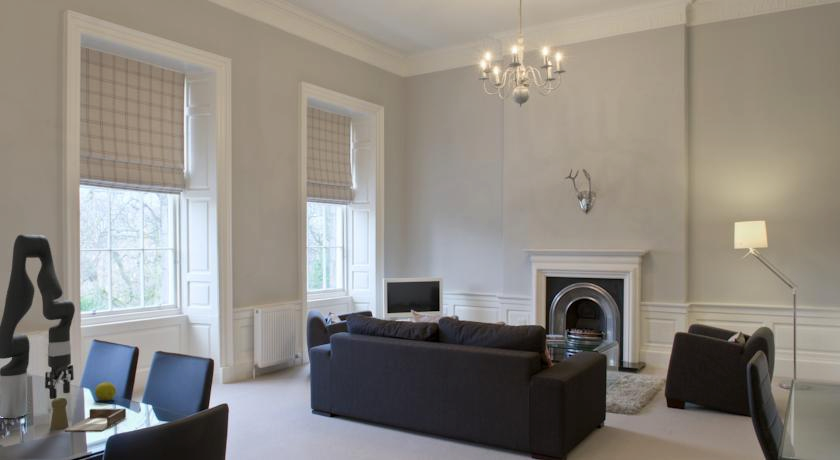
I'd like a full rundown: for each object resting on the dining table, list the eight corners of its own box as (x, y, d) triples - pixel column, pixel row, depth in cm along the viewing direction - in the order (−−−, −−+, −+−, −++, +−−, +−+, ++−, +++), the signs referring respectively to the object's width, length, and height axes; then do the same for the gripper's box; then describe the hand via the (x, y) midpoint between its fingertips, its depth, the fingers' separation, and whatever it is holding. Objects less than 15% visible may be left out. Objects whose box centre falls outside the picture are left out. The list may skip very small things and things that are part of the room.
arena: (64, 431, 229) (64, 422, 230) (91, 417, 247) (91, 408, 247) (101, 431, 229) (101, 422, 229) (125, 417, 247) (125, 408, 247)
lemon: (119, 400, 273) (119, 382, 273) (100, 404, 267) (100, 385, 267) (110, 396, 280) (110, 379, 280) (91, 399, 275) (91, 381, 275)
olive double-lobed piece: (60, 430, 231) (60, 401, 231) (46, 429, 232) (46, 400, 232) (72, 425, 237) (72, 396, 237) (58, 424, 238) (58, 396, 238)
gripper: (60, 350, 242) (61, 391, 242) (37, 356, 228) (38, 400, 228) (79, 349, 242) (80, 391, 242) (57, 356, 228) (58, 400, 228)
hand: (59, 395), depth 235 cm, fingers open, 8 cm apart
